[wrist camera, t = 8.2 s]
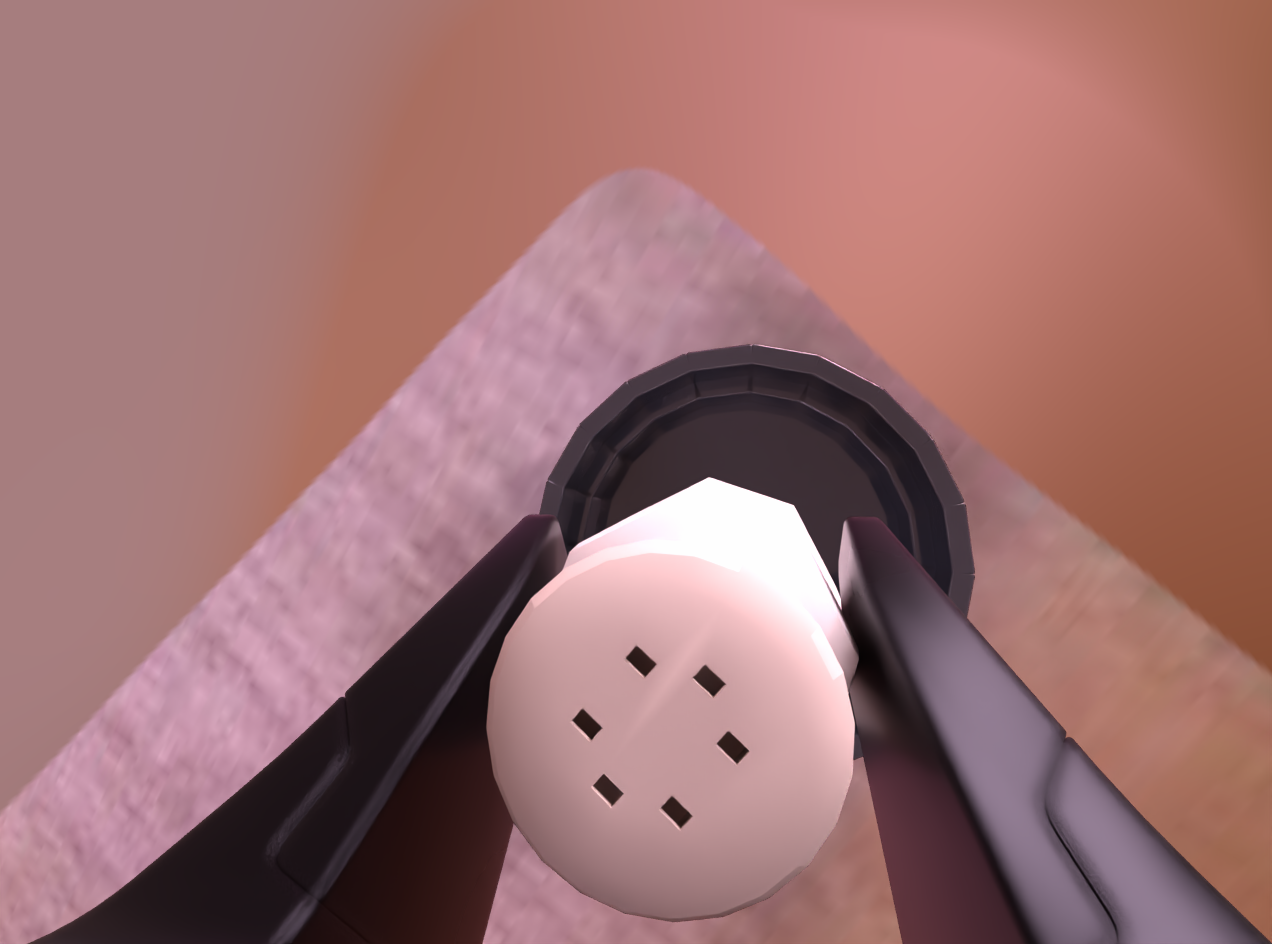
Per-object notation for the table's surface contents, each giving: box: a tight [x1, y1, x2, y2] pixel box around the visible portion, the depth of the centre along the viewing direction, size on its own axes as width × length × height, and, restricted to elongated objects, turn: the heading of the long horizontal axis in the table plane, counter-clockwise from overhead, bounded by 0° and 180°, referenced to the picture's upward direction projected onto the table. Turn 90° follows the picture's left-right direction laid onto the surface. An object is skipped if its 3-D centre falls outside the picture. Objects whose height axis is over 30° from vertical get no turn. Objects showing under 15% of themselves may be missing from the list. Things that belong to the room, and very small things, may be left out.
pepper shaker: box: [486, 477, 859, 922], centre depth 10 cm, size 5×5×11 cm
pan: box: [539, 344, 975, 760], centre depth 20 cm, size 12×12×4 cm
